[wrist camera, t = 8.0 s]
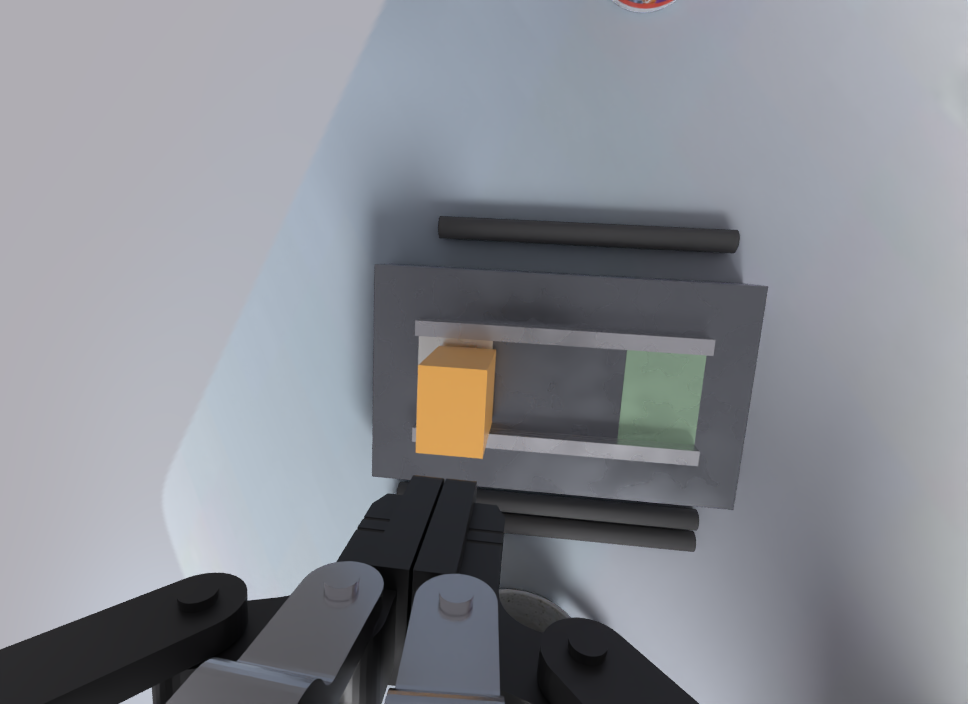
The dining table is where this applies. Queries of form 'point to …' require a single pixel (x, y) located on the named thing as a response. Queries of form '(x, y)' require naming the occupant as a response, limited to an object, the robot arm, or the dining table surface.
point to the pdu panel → (576, 379)
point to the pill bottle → (643, 5)
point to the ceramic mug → (530, 609)
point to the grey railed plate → (575, 506)
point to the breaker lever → (455, 401)
